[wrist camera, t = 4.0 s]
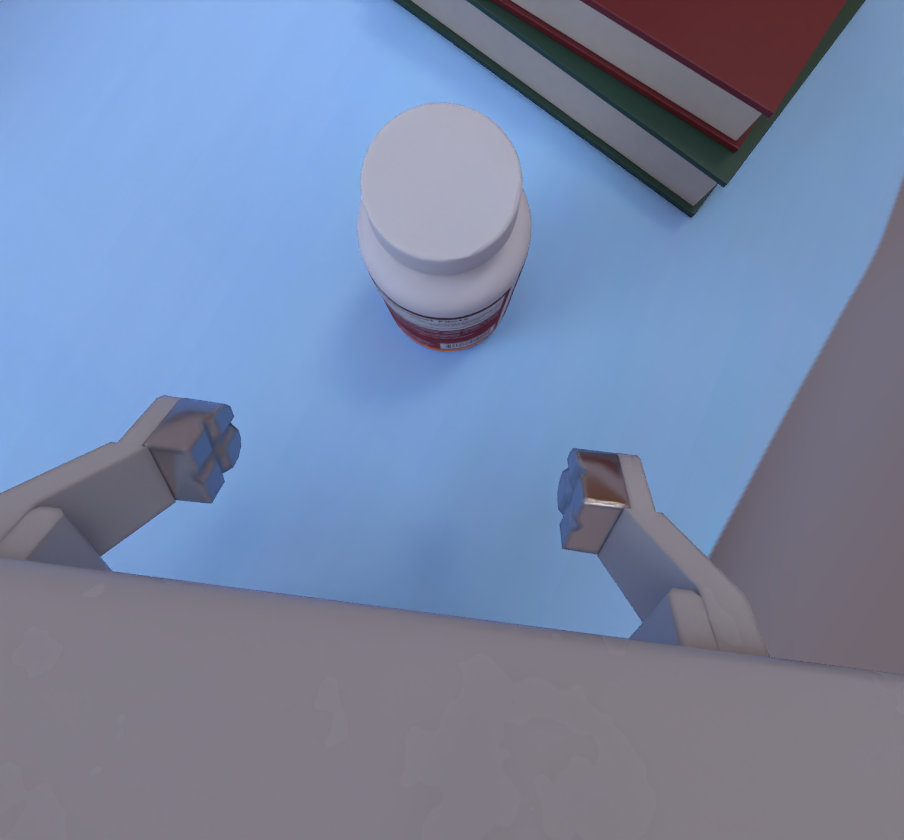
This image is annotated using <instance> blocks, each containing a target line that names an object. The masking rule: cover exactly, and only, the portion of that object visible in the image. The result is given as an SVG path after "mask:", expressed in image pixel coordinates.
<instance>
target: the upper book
mask: <svg viewBox="0 0 904 840" xmlns="http://www.w3.org/2000/svg"><path fill="white" fill-rule="evenodd" d="M491 1H493V2H494V3H496V4H498V5H499V6H501V7H502V8H504V9H506V10H507V11H509V12H510V13H512V14H514V15H515V16H517V17H518V18H520V19H522V20H523V21H525V22H526V23H528V24H530V25H531V26H533V27H534V28H536V29H538V30H539V31H541V32H542V33H544V34H546V35H547V36H549V37H550V38H552V39H554V40H555V41H557V42H558V43H560V44H562V45H563V46H565V47H566V48H568V49H570V50H571V51H573V52H574V53H576V54H578V55H579V56H581V57H582V58H584V59H586V60H587V61H589V62H590V63H592V64H594V65H595V66H597V67H598V68H600V69H602V70H603V71H605V72H606V73H608V74H610V75H611V76H613V77H614V78H616V79H618V80H619V81H621V82H622V83H624V84H626V85H627V86H629V87H630V88H632V89H634V90H635V91H637V92H638V93H640V94H642V95H643V96H645V97H646V98H648V99H650V100H651V101H653V102H654V103H656V104H658V105H659V106H661V107H662V108H664V109H666V110H667V111H669V112H670V113H672V114H674V115H675V116H677V117H678V118H680V119H682V120H683V121H685V122H686V123H688V124H690V125H691V126H693V127H694V128H696V129H698V130H699V131H701V132H702V133H704V134H706V135H707V136H709V137H710V138H712V139H714V140H715V141H717V142H718V143H720V144H722V145H723V146H725V147H726V148H728V149H730V150H731V151H733V152H734V153H735V152H737V151H738V150H739V148H740V147H741V145H742V144H743V142H744V140H745V139H746V137H747V136H748V134H749V133H750V131H751V130H752V128H753V126H754V125H755V123H756V122H757V120H758V119H759V117H760V116H761V114H763V115H765V116H767V117H768V118H770V117H771V116H772V115H773V114H774V113H775V111H776V110H777V108H778V107H779V105H780V104H781V102H782V100H783V99H784V97H785V96H786V94H787V93H788V91H789V90H790V88H791V86H792V85H793V83H794V82H795V80H796V79H797V77H798V76H799V74H800V73H801V71H802V69H803V68H804V66H805V65H806V63H807V62H808V60H809V59H810V57H811V55H812V54H813V52H814V51H815V49H816V48H817V46H818V45H819V43H820V41H821V40H822V38H823V37H824V35H825V34H826V32H827V31H828V29H829V27H830V26H831V24H832V23H833V21H834V20H835V18H836V17H837V15H838V14H839V12H840V10H841V9H842V7H843V6H844V4H845V3H846V1H847V0H491Z"/></svg>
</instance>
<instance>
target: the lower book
mask: <svg viewBox="0 0 904 840" xmlns="http://www.w3.org/2000/svg"><path fill="white" fill-rule="evenodd" d="M395 1H396V2H397V3H399V4H400V5H401V6H403V7H404V8H405V9H407V10H408V11H410V12H411V13H412V14H414V15H415V16H416V17H418V18H419V19H421V20H422V21H423V22H425V23H426V24H427V25H429V26H430V27H431V28H433V29H434V30H436V31H437V32H438V33H440V34H441V35H442V36H444V37H445V38H447V39H448V40H449V41H451V42H452V43H453V44H455V45H456V46H457V47H459V48H460V49H462V50H463V51H464V52H466V53H467V54H468V55H470V56H471V57H473V58H474V59H475V60H477V61H478V62H479V63H481V64H482V65H484V66H485V67H486V68H488V69H489V70H490V71H492V72H493V73H494V74H496V75H497V76H499V77H500V78H501V79H503V80H504V81H505V82H507V83H508V84H510V85H511V86H512V87H514V88H515V89H516V90H518V91H519V92H520V93H522V94H523V95H525V96H526V97H527V98H529V99H530V100H531V101H533V102H534V103H536V104H537V105H538V106H540V107H541V108H542V109H544V110H545V111H546V112H548V113H549V114H551V115H552V116H553V117H555V118H556V119H557V120H559V121H560V122H562V123H563V124H564V125H566V126H567V127H568V128H570V129H571V130H572V131H574V132H575V133H577V134H578V135H579V136H581V137H582V138H583V139H585V140H586V141H588V142H589V143H590V144H592V145H593V146H594V147H596V148H597V149H599V150H600V151H601V152H603V153H604V154H605V155H607V156H608V157H609V158H611V159H612V160H614V161H615V162H616V163H618V164H619V165H620V166H622V167H623V168H625V169H626V170H627V171H629V172H630V173H631V174H633V175H634V176H635V177H637V178H638V179H640V180H641V181H642V182H644V183H645V184H646V185H648V186H649V187H651V188H652V189H653V190H655V191H656V192H657V193H659V194H660V195H661V196H663V197H664V198H666V199H667V200H668V201H670V202H671V203H672V204H674V205H675V206H677V207H678V208H679V209H681V210H682V211H683V212H685V213H686V214H687V215H689V216H690V217H692V216H694V215H695V213H696V212H697V211H698V209H699V208H700V207H701V205H702V204H703V203H704V201H705V200H706V199H707V197H708V196H709V195H710V193H711V192H712V191H713V189H714V188H715V187H716V185H717V184H719V185H721V186H722V187H725V186H726V185H727V184H728V183H729V181H730V180H731V179H732V177H733V176H734V175H735V173H736V172H737V171H738V169H739V168H740V167H741V165H742V164H743V163H744V161H745V160H746V159H747V157H748V156H749V155H750V153H751V152H752V151H753V149H754V148H755V147H756V145H757V144H758V143H759V141H760V140H761V139H762V137H763V136H764V135H765V133H766V132H767V131H768V129H769V128H770V127H771V125H772V124H773V123H774V121H775V120H776V119H777V117H778V116H779V115H780V113H781V112H782V111H783V109H784V108H785V107H786V105H787V104H788V103H789V101H790V100H791V99H792V97H793V96H794V95H795V93H796V92H797V91H798V89H799V88H800V87H801V85H802V84H803V83H804V81H805V80H806V79H807V77H808V76H809V75H810V73H811V72H812V71H813V69H814V68H815V67H816V65H817V64H818V63H819V61H820V60H821V59H822V57H823V56H824V55H825V53H826V52H827V51H828V49H829V48H830V47H831V45H832V44H833V43H834V41H835V40H836V39H837V37H838V36H839V35H840V33H841V32H842V31H843V29H844V28H845V27H846V25H847V24H848V23H849V21H850V20H851V19H852V17H853V16H854V15H855V13H856V12H857V11H858V9H859V8H860V7H861V5H862V4H863V3H864V1H865V0H847V1H846V3H845V4H844V6H843V7H842V9H841V10H840V12H839V14H838V15H837V17H836V18H835V20H834V21H833V23H832V24H831V26H830V27H829V29H828V31H827V32H826V34H825V35H824V37H823V38H822V40H821V41H820V43H819V45H818V46H817V48H816V49H815V51H814V52H813V54H812V55H811V57H810V59H809V60H808V62H807V63H806V65H805V66H804V68H803V69H802V71H801V73H800V74H799V76H798V77H797V79H796V80H795V82H794V83H793V85H792V86H791V88H790V90H789V91H788V93H787V94H786V96H785V97H784V99H783V100H782V102H781V104H780V105H779V107H778V108H777V110H776V111H775V113H774V114H773V115H772V116H771V117H770V118H768V117H767V116H765V115H763V114H761V116H760V117H759V119H758V120H757V122H756V123H755V125H754V126H753V128H752V130H751V131H750V133H749V134H748V136H747V137H746V139H745V140H744V142H743V144H742V145H741V147H740V148H739V150H738V151H737V152H735V153H734V152H733V151H731V150H730V149H728V148H726V147H725V146H723V145H722V144H720V143H718V142H717V141H715V140H714V139H712V138H710V137H709V136H707V135H706V134H704V133H702V132H701V131H699V130H698V129H696V128H694V127H693V126H691V125H690V124H688V123H686V122H685V121H683V120H682V119H680V118H678V117H677V116H675V115H674V114H672V113H670V112H669V111H667V110H666V109H664V108H662V107H661V106H659V105H658V104H656V103H654V102H653V101H651V100H650V99H648V98H646V97H645V96H643V95H642V94H640V93H638V92H637V91H635V90H634V89H632V88H630V87H629V86H627V85H626V84H624V83H622V82H621V81H619V80H618V79H616V78H614V77H613V76H611V75H610V74H608V73H606V72H605V71H603V70H602V69H600V68H598V67H597V66H595V65H594V64H592V63H590V62H589V61H587V60H586V59H584V58H582V57H581V56H579V55H578V54H576V53H574V52H573V51H571V50H570V49H568V48H566V47H565V46H563V45H562V44H560V43H558V42H557V41H555V40H554V39H552V38H550V37H549V36H547V35H546V34H544V33H542V32H541V31H539V30H538V29H536V28H534V27H533V26H531V25H530V24H528V23H526V22H525V21H523V20H522V19H520V18H518V17H517V16H515V15H514V14H512V13H510V12H509V11H507V10H506V9H504V8H502V7H501V6H499V5H498V4H496V3H494V2H493V1H491V0H395Z"/></svg>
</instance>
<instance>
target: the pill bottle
mask: <svg viewBox="0 0 904 840" xmlns="http://www.w3.org/2000/svg"><path fill="white" fill-rule="evenodd" d="M361 193H362V200H361V203H360V208H359V212H358V219H357V236H358V243H359V248H360V252H361V255H362V258H363V261H364V263H365V265H366V267H367V270H368V272H369V274H370V276H371V278H372V280H373V281H374V283H375V285H376V287H377V289H378V291H379V292H380V294H381V296H382V298H383V300H384V301H385V303H386V305H387V307H388V309H389V311H390V312H391V314H392V316H393V318H394V320H395V321H396V323H397V325H398V326H399V327H400V328H401V330H402V331H403V332H404V333H405V334H406V335H407V336H408V337H409V338H411V339H412V340H413V341H415V342H416V343H418V344H420V345H422V346H424V347H426V348H429V349H432V350H436V351H444V352H452V351H460V350H464V349H467V348H470V347H472V346H475V345H477V344H478V343H480V342H482V341H483V340H484V339H486V338H487V337H488V336H489V335H490V334H491V333H492V332H493V331H494V330H495V329H496V327H497V326H498V324H499V323H500V321H501V320H502V318H503V316H504V314H505V312H506V309H507V307H508V304H509V301H510V299H511V296H512V294H513V291H514V288H515V286H516V284H517V281H518V279H519V276H520V274H521V271H522V268H523V266H524V263H525V260H526V257H527V253H528V249H529V244H530V237H531V216H530V209H529V204H528V201H527V198H526V195H525V193H524V190H523V188H522V172H521V167H520V162H519V159H518V156H517V153H516V151H515V149H514V147H513V145H512V143H511V141H510V140H509V138H508V137H507V135H506V134H505V133H504V132H503V131H502V129H501V128H500V127H499V126H498V125H496V124H495V123H494V122H493V121H492V120H491V119H489V118H488V117H486V116H485V115H483V114H481V113H480V112H478V111H476V110H474V109H471V108H468V107H465V106H462V105H456V104H451V103H431V104H425V105H420V106H417V107H414V108H412V109H409V110H407V111H405V112H403V113H401V114H399V115H398V116H396V117H395V118H393V119H392V120H391V121H390V122H388V123H387V124H386V125H385V126H384V127H383V128H382V129H381V130H380V132H379V133H378V134H377V135H376V137H375V138H374V140H373V141H372V143H371V145H370V147H369V149H368V151H367V153H366V156H365V159H364V163H363V167H362V173H361Z"/></svg>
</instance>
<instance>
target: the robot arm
mask: <svg viewBox="0 0 904 840" xmlns="http://www.w3.org/2000/svg"><path fill="white" fill-rule="evenodd" d="M233 418H234V415H233V412H232V409H231V407H230V406H229V405H226V404H222V403H215V402H208V401H202V400H195V399H189V398H179V397H173V396H166V395H163V396H161V397H158V398H157V399H156V400H155V401H154V402H153V403H152V404H151V405H150V406H149V407H148V409H147V410H146V411H145V412H144V413H143V414H142V415H141V417H140V418H139V419H138V420H137V421H136V422H135V423H134V424H133V426H132V427H131V428H130V429H129V430H128V431H127V432H126V433H125V435H124V436H123V437H122V438H121V439H120V440H119V441H118V443H114V442H110V443H108V444H105V445H103V446H101V447H99V448H97V449H95V450H93V451H90V452H88V453H86V454H84V455H82V456H80V457H77V458H75V459H73V460H71V461H69V462H67V463H65V464H62V465H60V466H58V467H56V468H54V469H52V470H49V471H47V472H45V473H43V474H41V475H39V476H37V477H34V478H32V479H30V480H28V481H26V482H24V483H21V484H19V485H17V486H15V487H13V488H11V489H8V490H6V491H4V492H2V493H0V840H904V675H903V674H896V673H888V672H881V671H873V670H865V669H857V668H850V667H842V666H834V665H827V664H819V663H811V662H803V661H795V660H788V659H780V658H773V657H770V656H769V653H768V651H767V649H766V646H765V643H764V640H763V638H762V635H761V633H760V630H759V628H758V625H757V623H756V620H755V617H754V615H753V612H752V610H751V607H750V605H749V602H748V600H747V597H746V595H744V594H743V592H742V591H740V590H739V589H738V588H737V587H736V586H735V585H734V584H733V583H732V582H731V581H730V580H729V579H728V578H727V577H726V576H725V575H724V574H723V573H722V572H721V571H720V570H719V569H718V568H717V567H716V566H715V565H714V564H713V563H712V562H711V561H710V560H709V559H708V558H707V557H706V556H705V555H704V554H703V553H702V552H701V551H700V550H699V549H698V548H697V547H696V546H695V545H694V544H693V543H692V542H691V541H690V540H689V539H688V538H687V537H686V536H685V535H684V534H683V533H682V532H681V531H680V530H679V529H678V528H677V527H676V526H675V525H674V524H673V523H672V522H671V521H670V520H669V519H668V518H667V517H666V516H665V515H664V514H663V513H660V512H656V511H655V507H654V504H653V501H652V497H651V494H650V490H649V487H648V483H647V480H646V476H645V473H644V470H643V466H642V463H641V459H640V458H639V457H638V456H637V455H629V454H620V453H611V452H603V451H594V450H586V449H577V448H573V449H572V450H571V451H570V454H569V456H568V459H567V460H568V468H567V469H566V470H564V471H563V472H562V475H561V478H560V481H559V486H558V498H557V501H558V509H559V511H560V512H561V513H562V514H563V518H562V520H561V523H560V533H561V543H562V549H566V550H573V551H579V552H586V553H592V554H598V558H599V559H600V561H601V562H602V563H603V565H604V566H605V568H606V569H607V571H608V572H609V574H610V575H611V577H612V578H613V580H614V581H615V583H616V584H617V585H618V587H619V588H620V590H621V591H622V593H623V594H624V596H625V597H626V599H627V600H628V602H629V603H630V605H631V606H632V607H633V609H634V610H635V612H636V613H637V615H638V616H639V618H640V619H641V621H642V622H643V623H642V624H641V625H640V626H639V627H638V629H637V630H636V631H635V632H634V633H633V634H632V636H631V637H630V638H629V639H627V638H620V637H612V636H604V635H597V634H589V633H581V632H574V631H566V630H558V629H551V628H543V627H535V626H528V625H520V624H512V623H505V622H497V621H489V620H482V619H474V618H466V617H459V616H451V615H443V614H436V613H428V612H420V611H413V610H405V609H397V608H390V607H382V606H374V605H367V604H359V603H351V602H343V601H336V600H328V599H320V598H313V597H305V596H297V595H289V594H282V593H274V592H266V591H258V590H251V589H243V588H235V587H228V586H220V585H212V584H205V583H197V582H190V581H182V580H174V579H167V578H159V577H151V576H144V575H136V574H128V573H121V572H113V571H112V570H111V569H110V568H109V567H108V565H107V564H106V563H105V562H104V561H103V559H102V558H101V557H100V556H102V555H103V554H105V553H106V552H107V551H109V550H110V549H111V548H113V547H114V546H116V545H117V544H118V543H120V542H121V541H123V540H124V539H125V538H127V537H128V536H129V535H131V534H132V533H134V532H135V531H136V530H138V529H139V528H140V527H142V526H143V525H145V524H146V523H147V522H149V521H150V520H151V519H153V518H154V517H156V516H157V515H158V514H160V513H161V512H163V511H164V510H165V509H167V508H168V507H169V506H171V505H172V504H174V503H175V502H176V501H175V500H181V501H191V502H201V503H211V504H212V502H213V501H214V499H215V497H216V495H217V494H218V492H219V490H220V489H221V487H222V485H223V484H224V482H225V481H224V477H223V473H224V472H226V471H228V470H229V469H231V468H233V467H234V465H235V463H236V461H237V459H238V457H239V453H240V449H241V437H240V434H239V430H238V429H237V428H236V427H234V426H233V425H232V424H231V423H230V422H231V421H232V419H233Z"/></svg>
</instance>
